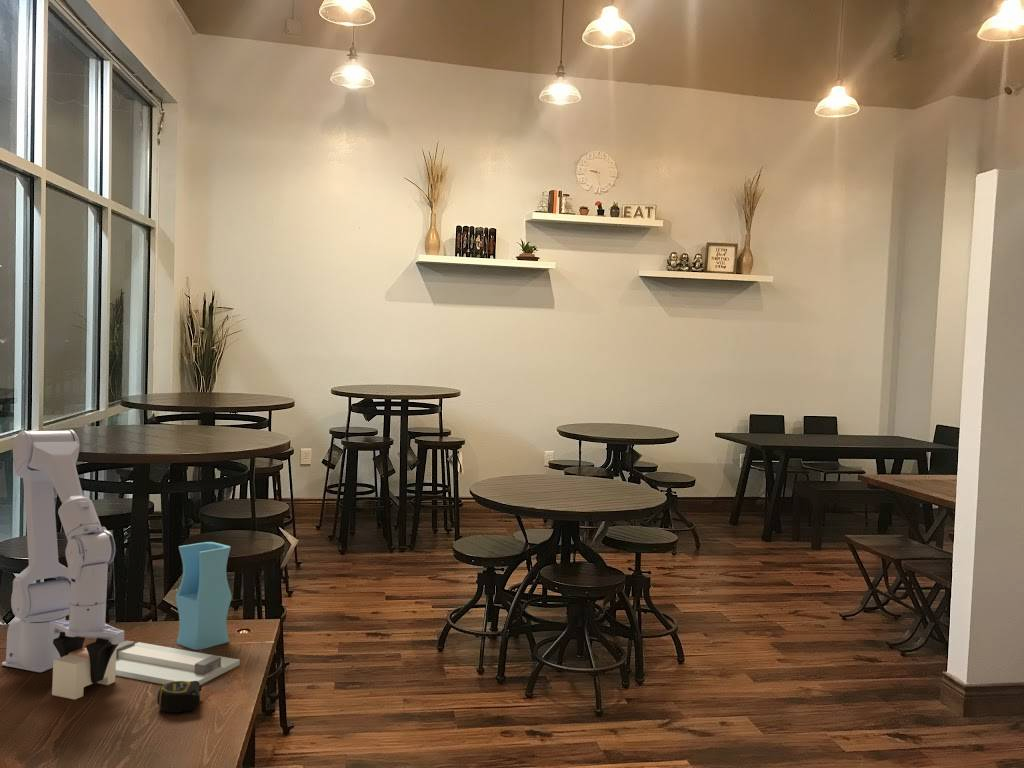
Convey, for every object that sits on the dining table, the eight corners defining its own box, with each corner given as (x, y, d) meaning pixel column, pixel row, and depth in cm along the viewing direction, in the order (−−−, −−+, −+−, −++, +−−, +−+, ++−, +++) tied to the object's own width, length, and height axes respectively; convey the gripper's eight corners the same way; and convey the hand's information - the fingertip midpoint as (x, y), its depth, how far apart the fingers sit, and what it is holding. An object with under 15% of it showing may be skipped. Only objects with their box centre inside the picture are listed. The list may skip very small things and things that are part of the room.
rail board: (83, 669, 154) (84, 654, 154) (138, 647, 168) (139, 633, 168) (191, 689, 147) (192, 674, 147) (239, 664, 161) (240, 650, 161)
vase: (173, 642, 172) (177, 546, 172) (206, 633, 178) (210, 541, 178) (196, 650, 167) (201, 552, 167) (229, 641, 174) (233, 546, 174)
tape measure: (199, 715, 137) (200, 692, 137) (154, 718, 135) (155, 695, 135) (201, 699, 144) (202, 677, 144) (158, 702, 142) (159, 680, 142)
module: (51, 694, 142) (53, 658, 142) (92, 677, 151) (94, 643, 151) (75, 699, 141) (76, 662, 141) (115, 681, 149) (116, 647, 149)
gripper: (36, 601, 144) (33, 679, 144) (103, 612, 140) (100, 692, 140) (69, 592, 151) (66, 666, 151) (134, 602, 146) (131, 679, 146)
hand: (84, 678), depth 146 cm, fingers closed on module, 5 cm apart
